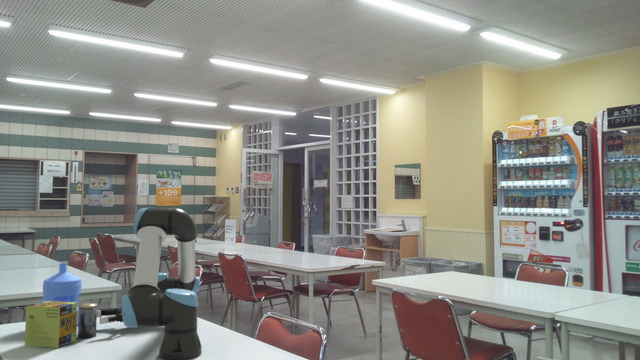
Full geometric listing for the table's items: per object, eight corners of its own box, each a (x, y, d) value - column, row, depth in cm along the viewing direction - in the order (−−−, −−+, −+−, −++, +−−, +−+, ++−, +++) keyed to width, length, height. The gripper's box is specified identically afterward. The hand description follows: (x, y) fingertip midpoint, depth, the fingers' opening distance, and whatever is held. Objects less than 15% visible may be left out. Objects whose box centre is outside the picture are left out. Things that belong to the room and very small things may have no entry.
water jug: (32, 328, 217) (35, 264, 219) (61, 320, 232) (63, 261, 234) (61, 331, 213) (63, 266, 214) (88, 323, 228) (90, 262, 229)
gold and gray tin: (99, 336, 206) (100, 304, 207) (82, 339, 200) (82, 307, 201) (91, 333, 211) (92, 302, 211) (74, 336, 205) (75, 304, 206)
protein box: (58, 348, 188) (59, 307, 189) (24, 345, 191) (25, 305, 192) (77, 341, 199) (78, 302, 199) (44, 338, 202) (45, 300, 202)
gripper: (154, 323, 216) (106, 332, 200) (125, 314, 232) (79, 322, 216) (154, 305, 216) (106, 313, 200) (126, 298, 232) (80, 305, 217)
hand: (92, 318), depth 208 cm, fingers open, 13 cm apart
